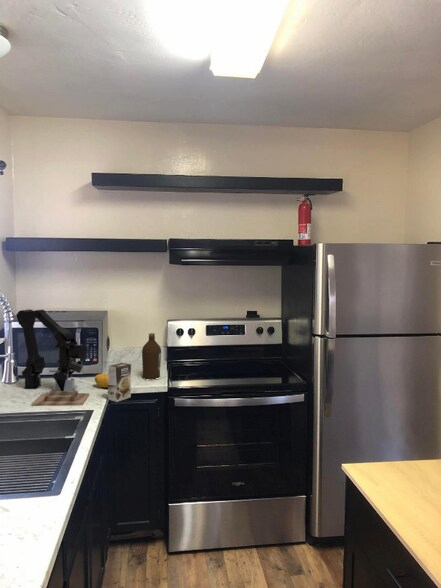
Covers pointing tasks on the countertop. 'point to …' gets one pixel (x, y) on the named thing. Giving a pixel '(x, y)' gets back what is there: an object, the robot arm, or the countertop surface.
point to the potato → (102, 380)
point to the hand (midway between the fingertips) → (64, 388)
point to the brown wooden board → (61, 398)
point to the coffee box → (119, 382)
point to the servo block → (66, 385)
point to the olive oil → (151, 358)
